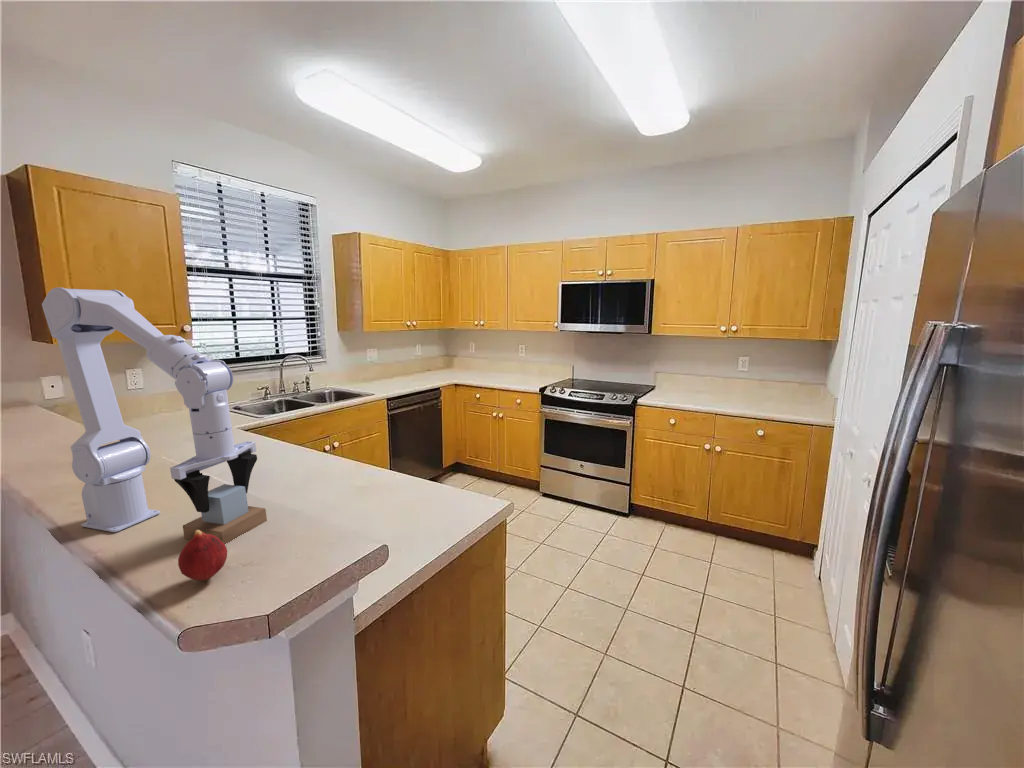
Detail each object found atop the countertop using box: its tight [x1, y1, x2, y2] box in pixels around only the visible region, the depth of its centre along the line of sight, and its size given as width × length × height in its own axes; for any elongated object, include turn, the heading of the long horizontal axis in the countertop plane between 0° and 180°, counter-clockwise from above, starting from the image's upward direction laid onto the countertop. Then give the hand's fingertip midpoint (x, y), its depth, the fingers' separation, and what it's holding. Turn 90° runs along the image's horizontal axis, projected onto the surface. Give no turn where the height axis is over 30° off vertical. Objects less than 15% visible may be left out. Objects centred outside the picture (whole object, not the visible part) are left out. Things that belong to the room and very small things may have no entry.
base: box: [182, 505, 268, 545], centre depth 78 cm, size 9×9×3 cm
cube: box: [200, 483, 249, 525], centre depth 77 cm, size 5×5×5 cm
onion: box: [177, 530, 228, 582], centre depth 62 cm, size 6×6×8 cm
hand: (223, 501), depth 77 cm, fingers open, 7 cm apart
